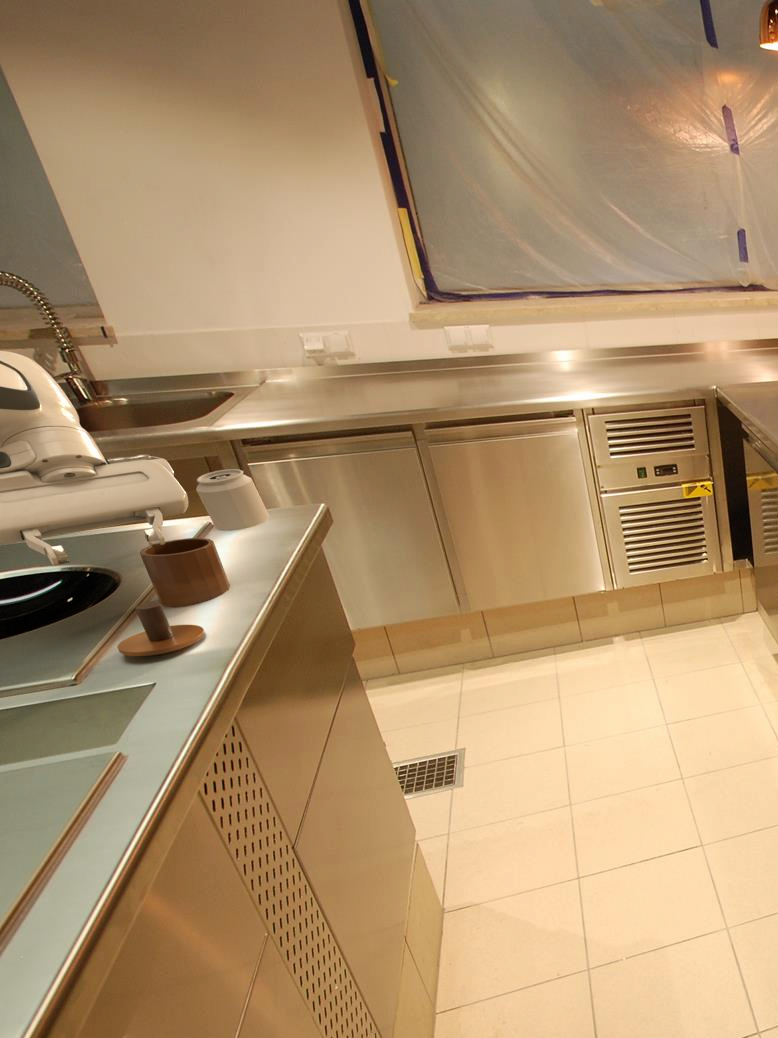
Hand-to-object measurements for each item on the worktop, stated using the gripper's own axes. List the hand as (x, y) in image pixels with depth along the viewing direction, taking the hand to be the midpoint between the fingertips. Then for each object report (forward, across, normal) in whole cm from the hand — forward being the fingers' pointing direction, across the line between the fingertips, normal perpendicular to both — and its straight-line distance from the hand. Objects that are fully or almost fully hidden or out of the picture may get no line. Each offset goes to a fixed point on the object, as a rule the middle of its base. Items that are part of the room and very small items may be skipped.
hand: (111, 552), depth 108 cm
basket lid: (+14, 0, -1) cm, 14 cm away
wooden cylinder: (+4, -7, -12) cm, 14 cm away
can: (-14, -22, -30) cm, 39 cm away
